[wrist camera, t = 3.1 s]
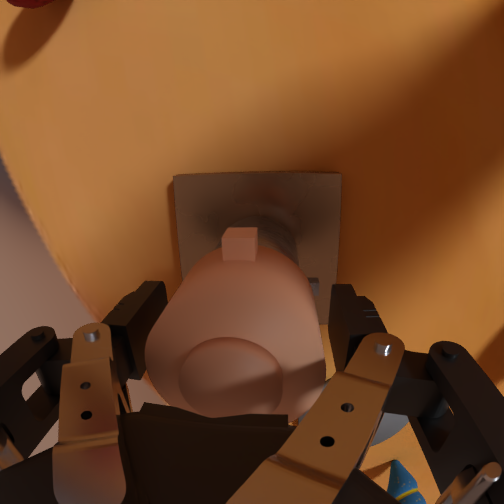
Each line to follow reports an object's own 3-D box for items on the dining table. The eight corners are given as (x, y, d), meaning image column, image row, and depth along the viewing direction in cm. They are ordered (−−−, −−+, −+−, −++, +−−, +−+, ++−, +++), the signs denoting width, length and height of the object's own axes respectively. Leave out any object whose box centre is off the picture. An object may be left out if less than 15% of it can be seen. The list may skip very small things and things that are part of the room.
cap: (319, 225, 11) (342, 279, 7) (308, 373, 13) (314, 458, 9) (172, 225, 11) (113, 275, 7) (191, 369, 14) (162, 447, 9)
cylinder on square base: (338, 172, 17) (373, 192, 10) (330, 316, 20) (347, 391, 13) (178, 174, 18) (123, 195, 11) (191, 313, 21) (157, 383, 14)
